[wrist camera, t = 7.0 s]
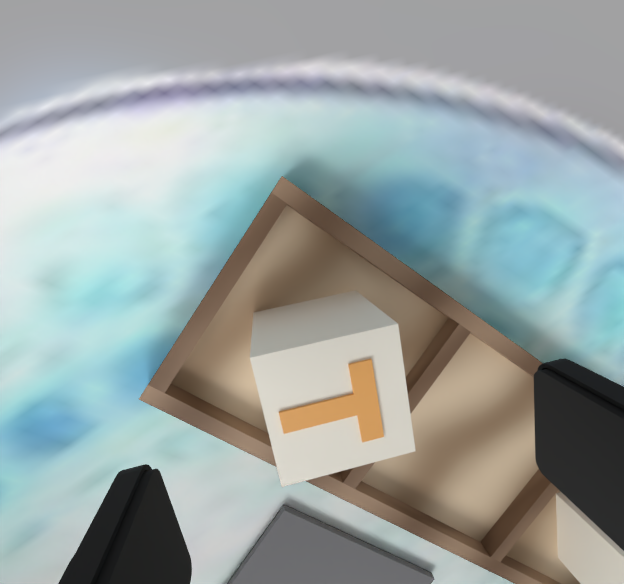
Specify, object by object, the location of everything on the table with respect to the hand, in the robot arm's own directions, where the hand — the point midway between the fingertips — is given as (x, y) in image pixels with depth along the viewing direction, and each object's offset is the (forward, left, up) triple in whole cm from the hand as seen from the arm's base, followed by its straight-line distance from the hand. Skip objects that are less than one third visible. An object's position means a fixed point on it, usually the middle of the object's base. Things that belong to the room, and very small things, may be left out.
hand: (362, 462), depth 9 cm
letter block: (-1, 0, -9) cm, 9 cm away
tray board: (-11, 0, -10) cm, 15 cm away
